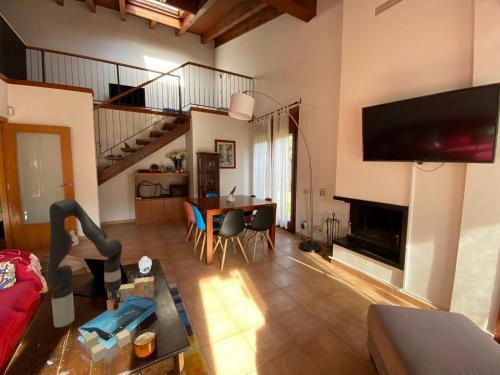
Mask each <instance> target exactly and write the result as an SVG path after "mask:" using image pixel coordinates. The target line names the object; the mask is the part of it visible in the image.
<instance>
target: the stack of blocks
mask: <svg viewBox="0 0 500 375" xmlns="http://www.w3.org/2000/svg"><path fill="white" fill-rule="evenodd" d="M118 289H119V293H121V301H122V300H124V299H126V298H128V297H129V296H131V295H134V296H139V297H150V298H154V296H155V276H145V277H140V278H138V277H137V278H134V282H133V283H127V284H126V283H125V284H121V285H120V286H119V288H118Z"/></svg>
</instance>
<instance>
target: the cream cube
mask: <svg viewBox="0 0 500 375" xmlns="http://www.w3.org/2000/svg"><path fill="white" fill-rule="evenodd" d="M115 342H116V345H117V346H118V347H119V349H122V348H123V347H124V348H125V347H126V346H127V345H129V344H131V333H130V332H129V330H128V329H127V328H126V329H123V330H122V331H120V332H118V333H116V334H115Z"/></svg>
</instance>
